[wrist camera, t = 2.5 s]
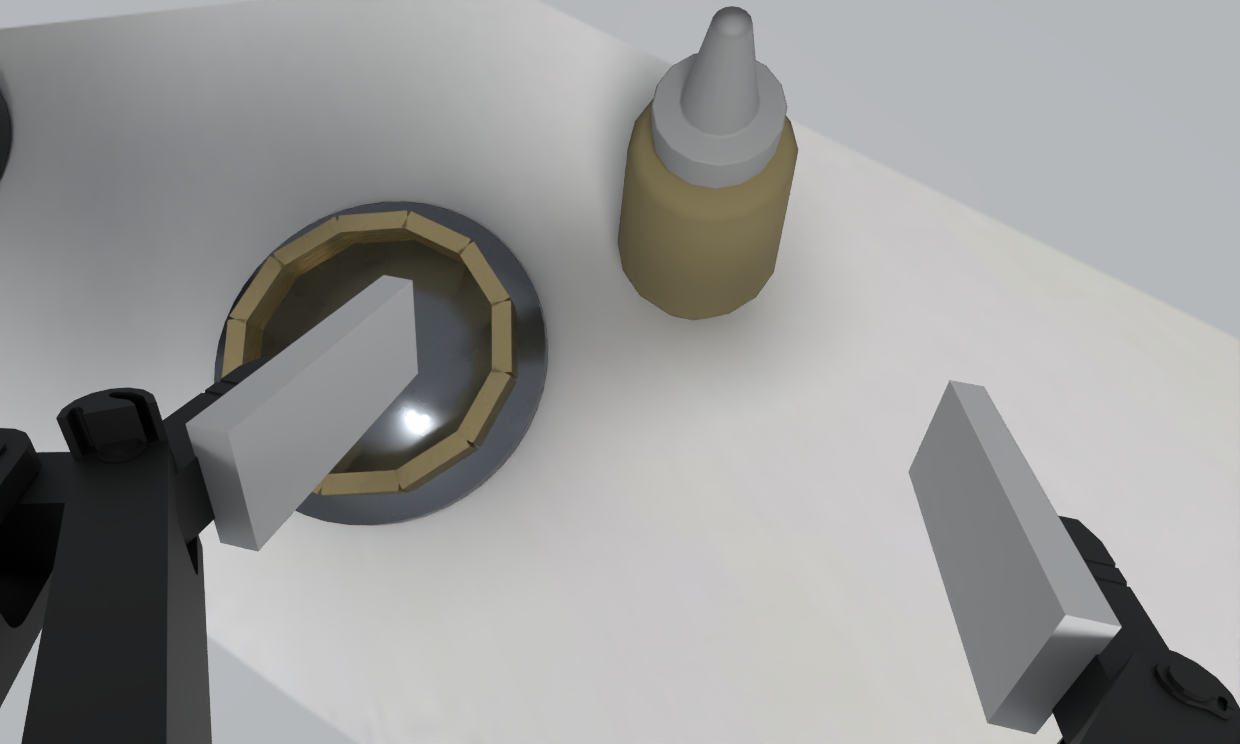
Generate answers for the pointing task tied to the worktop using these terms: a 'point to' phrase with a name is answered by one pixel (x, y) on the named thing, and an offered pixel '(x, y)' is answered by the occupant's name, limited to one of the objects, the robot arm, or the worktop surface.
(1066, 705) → the robot arm
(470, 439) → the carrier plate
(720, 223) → the squeeze bottle
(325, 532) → the worktop surface
